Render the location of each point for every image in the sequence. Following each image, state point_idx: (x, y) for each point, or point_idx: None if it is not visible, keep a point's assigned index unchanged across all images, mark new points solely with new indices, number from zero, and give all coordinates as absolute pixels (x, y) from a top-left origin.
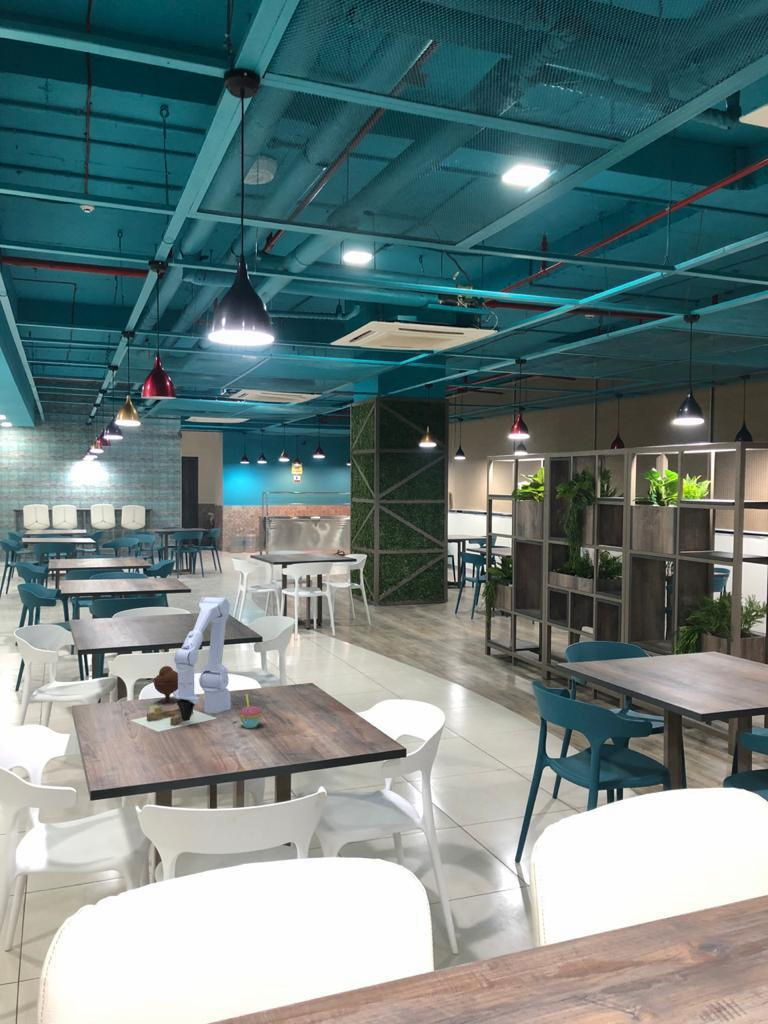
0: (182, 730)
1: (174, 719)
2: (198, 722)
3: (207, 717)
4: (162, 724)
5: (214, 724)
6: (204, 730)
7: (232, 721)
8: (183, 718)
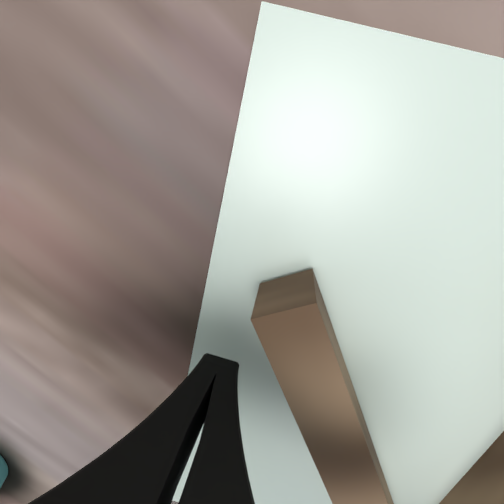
0: (177, 256)
1: (265, 309)
2: None
3: None
4: (413, 252)
5: (128, 432)
6: (62, 323)
7: None
8: (211, 369)
